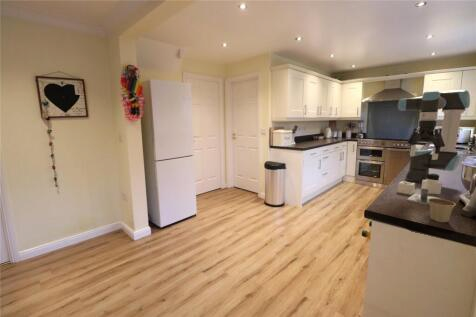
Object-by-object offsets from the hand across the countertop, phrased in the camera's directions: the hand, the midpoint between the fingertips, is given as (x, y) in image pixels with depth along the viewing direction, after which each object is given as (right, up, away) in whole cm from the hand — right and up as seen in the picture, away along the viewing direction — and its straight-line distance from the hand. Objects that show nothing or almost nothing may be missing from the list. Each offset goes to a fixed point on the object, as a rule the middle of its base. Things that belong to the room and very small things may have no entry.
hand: (422, 157), depth 132 cm
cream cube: (0, -22, +13) cm, 25 cm away
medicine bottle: (+15, -22, +13) cm, 30 cm away
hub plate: (-1, -24, -2) cm, 24 cm away
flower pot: (-14, -29, -27) cm, 42 cm away
